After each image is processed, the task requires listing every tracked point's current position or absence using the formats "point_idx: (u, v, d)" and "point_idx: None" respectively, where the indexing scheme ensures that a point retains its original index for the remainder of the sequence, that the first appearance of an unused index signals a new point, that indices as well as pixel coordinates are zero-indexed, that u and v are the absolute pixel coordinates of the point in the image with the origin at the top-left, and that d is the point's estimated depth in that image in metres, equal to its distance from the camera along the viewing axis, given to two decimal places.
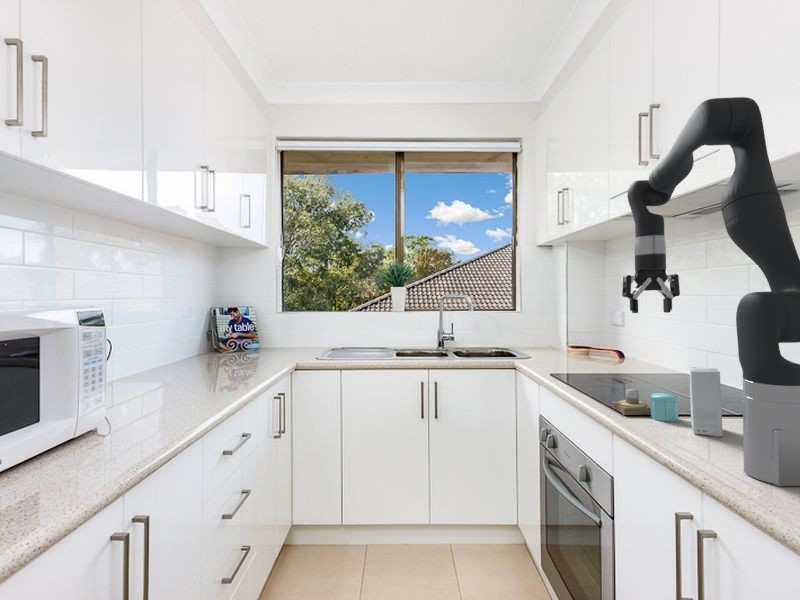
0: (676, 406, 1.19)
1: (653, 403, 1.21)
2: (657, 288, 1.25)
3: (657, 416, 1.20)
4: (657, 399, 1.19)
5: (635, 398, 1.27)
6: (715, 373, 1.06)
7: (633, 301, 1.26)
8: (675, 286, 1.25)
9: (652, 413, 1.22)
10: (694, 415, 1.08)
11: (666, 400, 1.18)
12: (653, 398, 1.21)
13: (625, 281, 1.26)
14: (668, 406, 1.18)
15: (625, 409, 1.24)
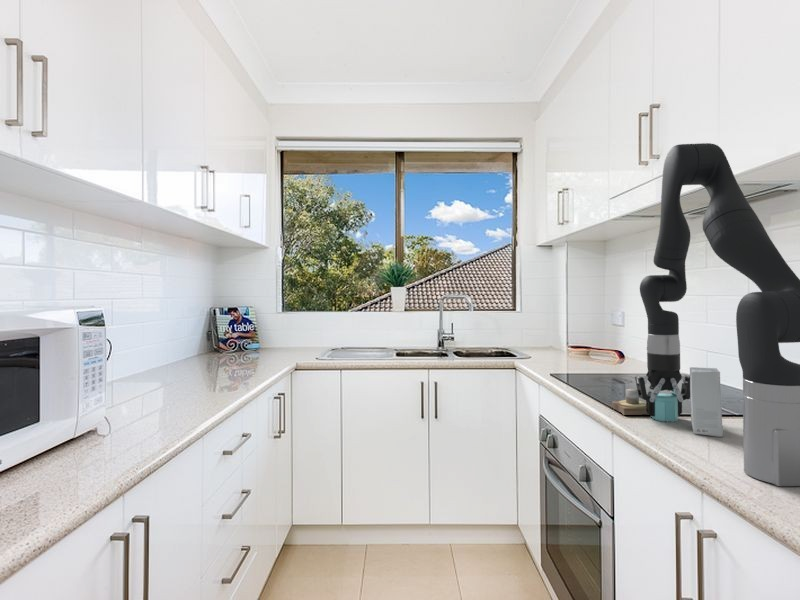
0: (676, 406, 1.19)
1: None
2: (669, 388, 1.20)
3: (657, 416, 1.20)
4: (657, 399, 1.19)
5: (635, 398, 1.27)
6: (715, 373, 1.06)
7: (650, 404, 1.21)
8: (687, 389, 1.20)
9: None
10: (694, 415, 1.08)
11: (666, 400, 1.18)
12: None
13: (638, 383, 1.21)
14: (668, 406, 1.18)
15: (625, 409, 1.24)
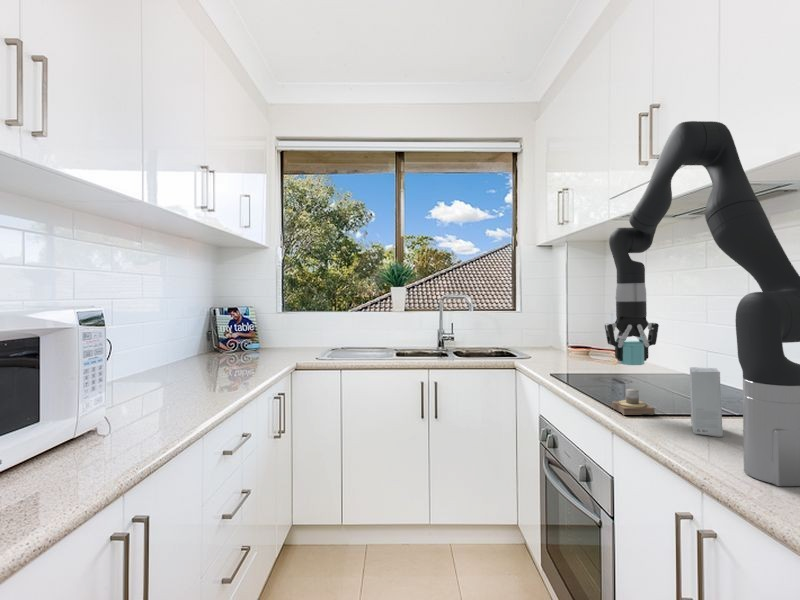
0: (643, 351, 1.26)
1: None
2: (636, 334, 1.27)
3: (624, 360, 1.27)
4: (624, 344, 1.26)
5: (635, 398, 1.27)
6: (715, 373, 1.06)
7: (618, 349, 1.27)
8: (653, 335, 1.27)
9: None
10: (694, 415, 1.08)
11: (633, 345, 1.25)
12: None
13: (607, 330, 1.28)
14: (634, 350, 1.25)
15: (625, 409, 1.24)
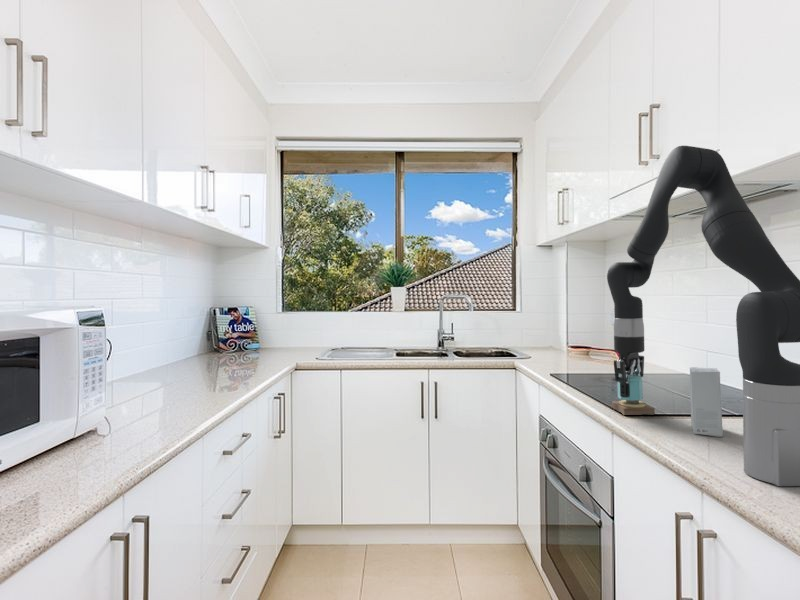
0: None
1: None
2: (634, 368, 1.28)
3: (631, 396, 1.25)
4: (631, 380, 1.25)
5: None
6: (715, 373, 1.06)
7: (626, 386, 1.25)
8: (642, 367, 1.31)
9: None
10: (694, 415, 1.08)
11: (639, 380, 1.25)
12: None
13: (619, 367, 1.23)
14: (640, 385, 1.25)
15: (625, 409, 1.24)
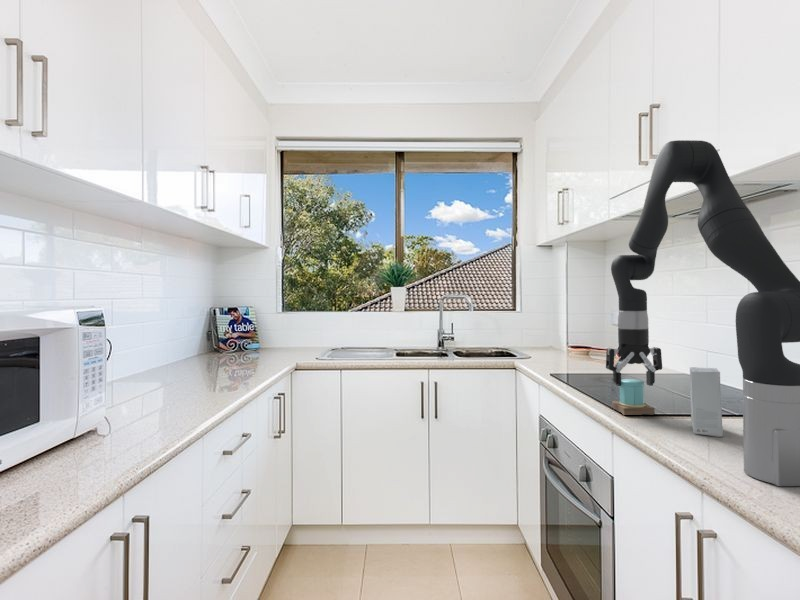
0: None
1: (631, 390, 1.26)
2: (640, 362, 1.27)
3: (636, 401, 1.26)
4: (636, 385, 1.25)
5: None
6: (715, 373, 1.06)
7: (616, 374, 1.28)
8: (658, 360, 1.27)
9: (628, 399, 1.26)
10: (694, 415, 1.08)
11: (642, 384, 1.26)
12: (631, 385, 1.26)
13: (608, 354, 1.28)
14: (643, 390, 1.26)
15: (625, 409, 1.24)
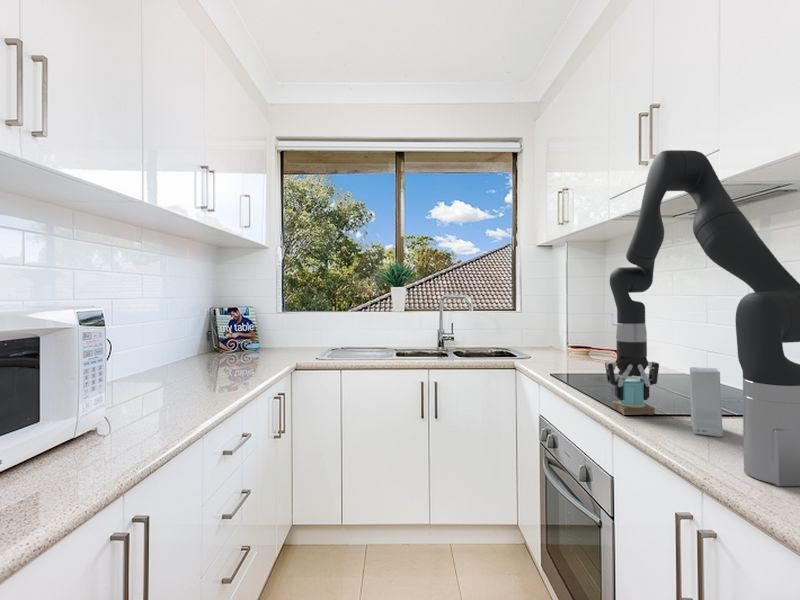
0: None
1: (631, 390, 1.26)
2: (636, 374, 1.27)
3: (636, 401, 1.26)
4: (636, 385, 1.25)
5: None
6: (715, 373, 1.06)
7: (618, 388, 1.28)
8: (654, 374, 1.27)
9: (628, 399, 1.26)
10: (694, 415, 1.08)
11: (642, 384, 1.26)
12: (631, 385, 1.26)
13: (608, 369, 1.28)
14: (643, 390, 1.26)
15: (625, 409, 1.24)
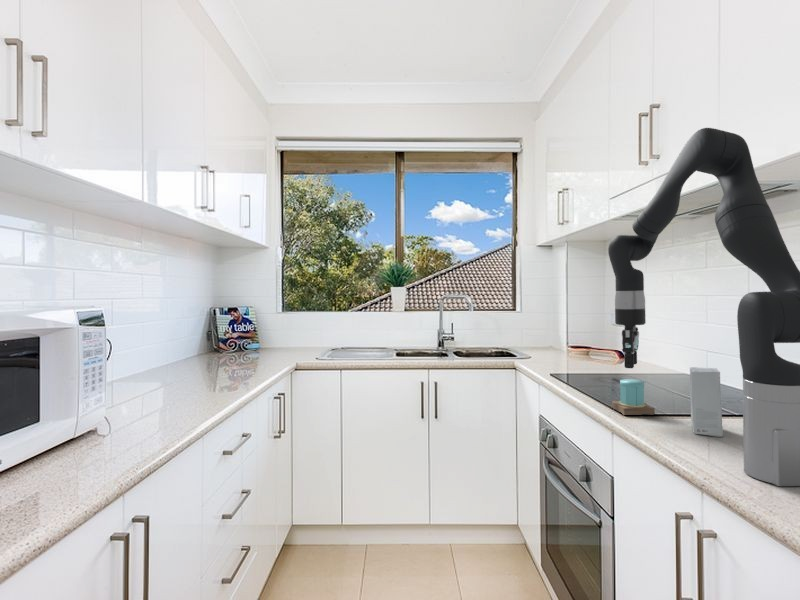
0: None
1: (641, 390, 1.25)
2: None
3: (643, 400, 1.26)
4: (643, 384, 1.26)
5: None
6: (715, 373, 1.06)
7: (631, 356, 1.23)
8: None
9: (639, 400, 1.25)
10: (694, 415, 1.08)
11: None
12: (641, 385, 1.25)
13: (629, 336, 1.22)
14: None
15: (625, 409, 1.24)
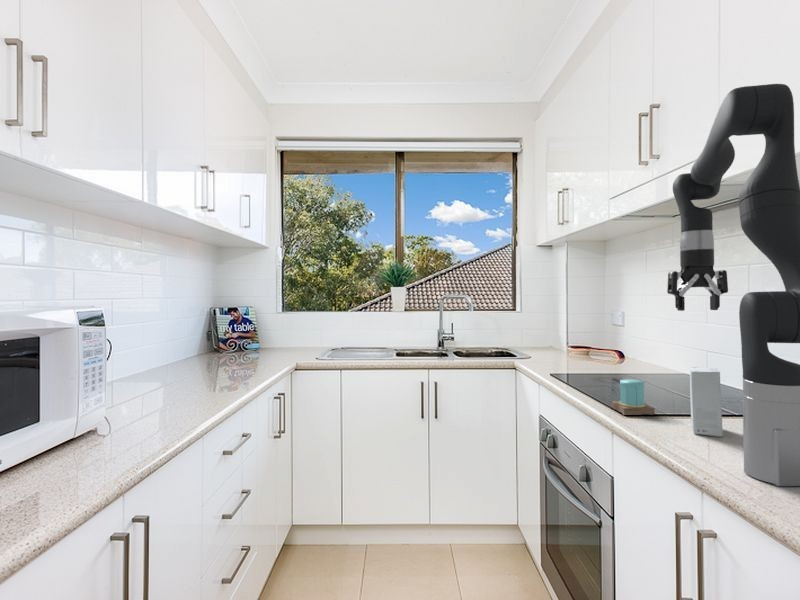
0: None
1: (641, 390, 1.25)
2: (704, 285, 1.21)
3: (643, 400, 1.26)
4: (643, 384, 1.26)
5: None
6: (715, 373, 1.06)
7: (679, 298, 1.22)
8: (723, 283, 1.21)
9: (639, 400, 1.25)
10: (694, 415, 1.08)
11: None
12: (641, 385, 1.25)
13: (671, 277, 1.22)
14: None
15: (625, 409, 1.24)
